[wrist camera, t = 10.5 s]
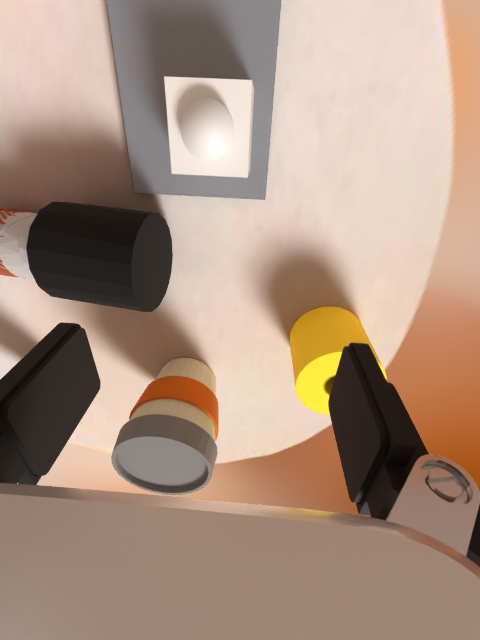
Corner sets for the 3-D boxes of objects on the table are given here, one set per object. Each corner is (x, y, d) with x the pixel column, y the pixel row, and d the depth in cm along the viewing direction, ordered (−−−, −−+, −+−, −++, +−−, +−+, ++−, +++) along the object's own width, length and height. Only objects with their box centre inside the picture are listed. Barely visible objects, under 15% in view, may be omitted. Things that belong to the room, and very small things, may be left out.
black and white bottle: (-73, 194, 39) (-193, 159, 29) (176, 226, 36) (138, 198, 26) (-76, 271, 40) (-193, 263, 30) (166, 309, 37) (125, 315, 27)
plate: (98, -101, 22) (90, -112, 21) (288, -97, 22) (289, -108, 21) (138, 190, 33) (134, 192, 32) (265, 197, 32) (265, 199, 31)
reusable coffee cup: (231, 404, 51) (221, 496, 38) (160, 406, 52) (127, 495, 40) (221, 346, 44) (204, 434, 31) (140, 349, 45) (92, 435, 33)
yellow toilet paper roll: (312, 295, 39) (325, 338, 31) (378, 323, 40) (406, 371, 32) (277, 349, 44) (280, 399, 36) (336, 372, 45) (351, 424, 37)
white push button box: (182, 85, 27) (160, 74, 21) (254, 88, 26) (251, 78, 21) (186, 166, 30) (168, 175, 24) (250, 169, 30) (247, 179, 24)
